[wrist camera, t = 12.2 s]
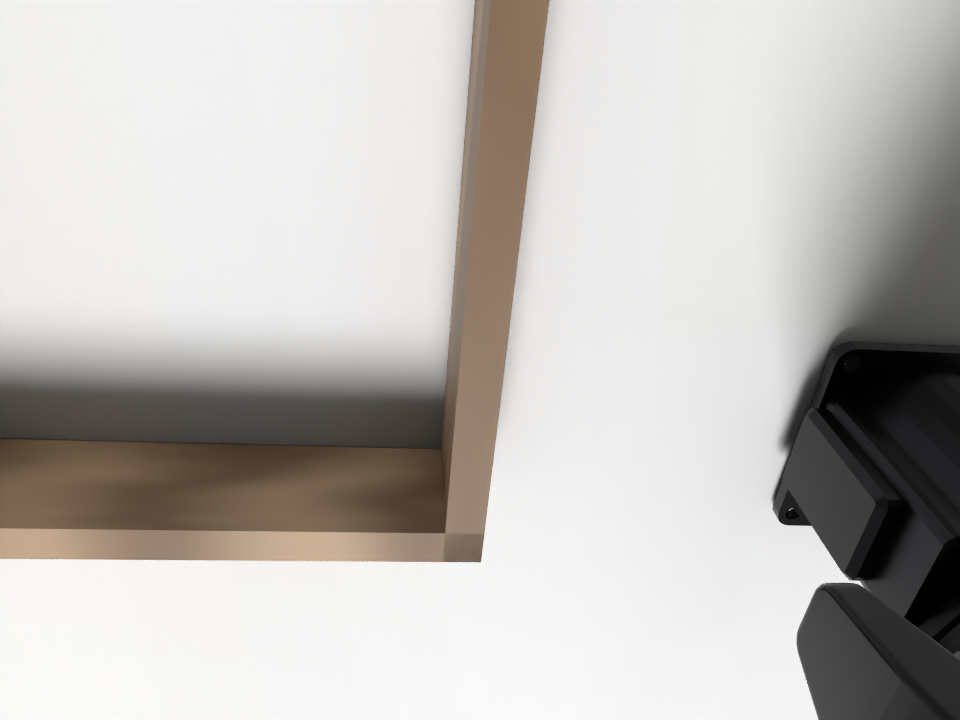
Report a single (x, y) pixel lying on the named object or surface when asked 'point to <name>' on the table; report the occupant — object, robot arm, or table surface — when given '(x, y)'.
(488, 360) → the wooden u-shaped frame
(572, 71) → the table surface
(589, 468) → the table surface
